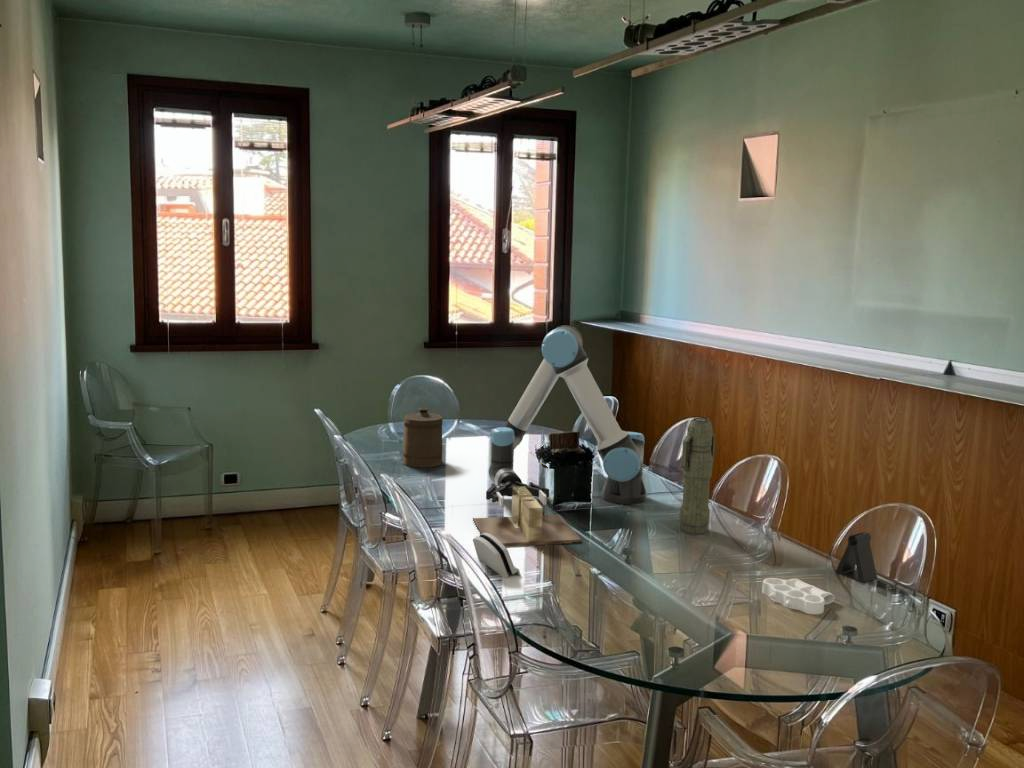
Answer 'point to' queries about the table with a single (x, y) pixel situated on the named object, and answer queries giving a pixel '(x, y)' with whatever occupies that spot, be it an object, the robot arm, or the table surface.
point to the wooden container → (422, 439)
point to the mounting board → (516, 537)
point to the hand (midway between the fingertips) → (523, 501)
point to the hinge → (494, 554)
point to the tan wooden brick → (518, 502)
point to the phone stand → (858, 559)
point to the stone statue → (697, 476)
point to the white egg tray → (797, 595)
